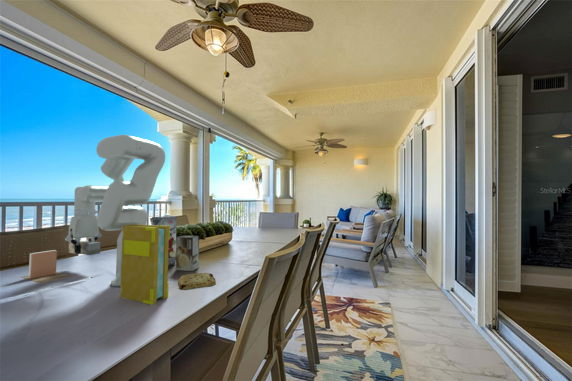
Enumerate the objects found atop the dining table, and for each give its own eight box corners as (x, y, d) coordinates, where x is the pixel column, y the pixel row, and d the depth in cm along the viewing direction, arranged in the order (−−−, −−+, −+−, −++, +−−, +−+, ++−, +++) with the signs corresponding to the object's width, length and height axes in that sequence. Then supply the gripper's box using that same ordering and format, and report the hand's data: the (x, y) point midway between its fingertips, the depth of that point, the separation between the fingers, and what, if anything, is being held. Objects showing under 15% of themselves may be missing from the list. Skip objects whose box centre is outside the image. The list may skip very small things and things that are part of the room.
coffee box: (199, 267, 120) (200, 235, 121) (192, 271, 114) (193, 237, 114) (182, 266, 122) (183, 235, 122) (175, 270, 115) (175, 237, 116)
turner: (100, 253, 108) (100, 242, 108) (89, 255, 104) (90, 243, 105) (78, 251, 115) (79, 240, 116) (68, 252, 112) (68, 242, 112)
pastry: (164, 287, 94) (165, 279, 94) (196, 274, 110) (196, 268, 110) (199, 293, 88) (200, 285, 88) (227, 279, 104) (227, 272, 104)
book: (168, 296, 84) (170, 225, 85) (151, 304, 77) (154, 227, 78) (133, 290, 89) (135, 224, 90) (115, 297, 83) (117, 225, 84)
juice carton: (147, 267, 119) (149, 214, 120) (165, 262, 129) (166, 213, 130) (160, 270, 116) (162, 214, 117) (177, 264, 125) (179, 213, 127)
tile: (55, 273, 105) (56, 250, 106) (30, 278, 98) (31, 254, 98) (53, 272, 106) (54, 249, 106) (28, 277, 99) (29, 253, 99)
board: (72, 279, 101) (72, 276, 101) (40, 287, 92) (41, 283, 92) (52, 274, 108) (52, 270, 109) (20, 280, 99) (20, 277, 99)
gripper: (100, 212, 120) (99, 248, 119) (57, 214, 105) (56, 256, 104) (109, 212, 117) (108, 249, 116) (66, 214, 102) (65, 257, 101)
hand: (84, 252), depth 110 cm, fingers closed on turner, 4 cm apart
